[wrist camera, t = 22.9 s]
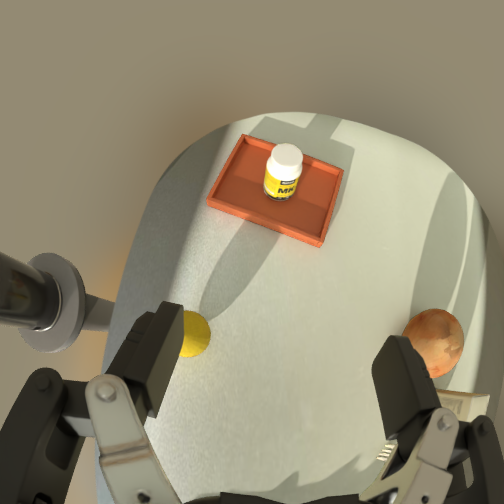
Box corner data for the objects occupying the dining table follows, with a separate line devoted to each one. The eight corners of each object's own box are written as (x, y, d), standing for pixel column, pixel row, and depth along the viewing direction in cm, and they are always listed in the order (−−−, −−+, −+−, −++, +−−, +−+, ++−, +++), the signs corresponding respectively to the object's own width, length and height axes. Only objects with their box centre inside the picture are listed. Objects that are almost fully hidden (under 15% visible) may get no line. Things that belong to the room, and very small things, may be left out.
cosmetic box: (430, 423, 30) (478, 438, 19) (411, 425, 30) (459, 444, 19) (440, 386, 32) (491, 393, 20) (421, 387, 32) (473, 396, 21)
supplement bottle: (275, 207, 39) (283, 176, 31) (256, 184, 40) (260, 149, 32) (301, 192, 40) (313, 160, 32) (282, 170, 41) (290, 135, 33)
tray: (207, 205, 40) (205, 199, 38) (242, 141, 43) (242, 133, 41) (319, 247, 38) (323, 243, 36) (340, 176, 42) (344, 169, 40)
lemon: (207, 359, 33) (198, 366, 26) (168, 347, 34) (148, 349, 26) (218, 319, 35) (212, 315, 27) (178, 308, 35) (162, 300, 28)
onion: (445, 338, 35) (486, 334, 25) (412, 387, 32) (452, 396, 23) (413, 299, 36) (453, 286, 27) (376, 349, 34) (415, 351, 25)
